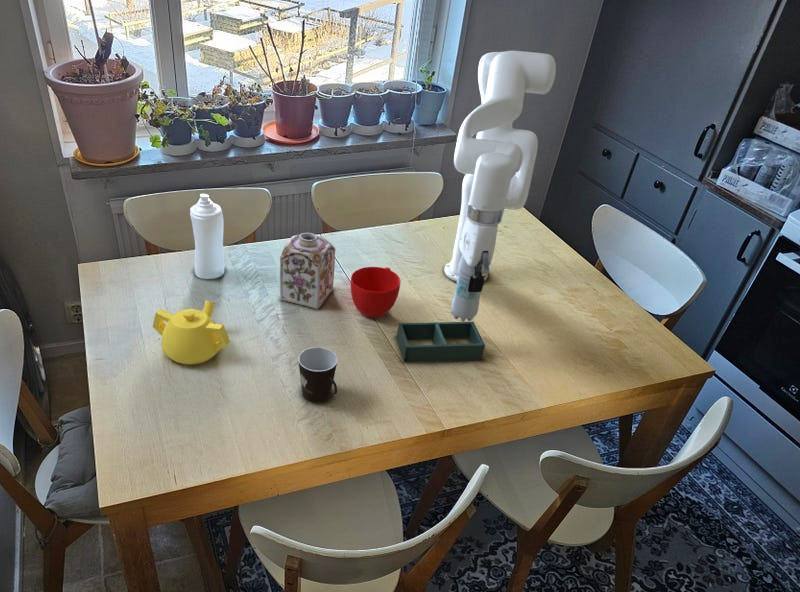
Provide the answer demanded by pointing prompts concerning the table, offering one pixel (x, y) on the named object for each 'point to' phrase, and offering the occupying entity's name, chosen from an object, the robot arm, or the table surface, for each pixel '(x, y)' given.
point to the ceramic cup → (374, 290)
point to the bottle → (465, 294)
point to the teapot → (190, 334)
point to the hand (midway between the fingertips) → (470, 282)
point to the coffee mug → (317, 373)
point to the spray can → (208, 238)
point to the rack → (440, 341)
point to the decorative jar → (307, 270)
